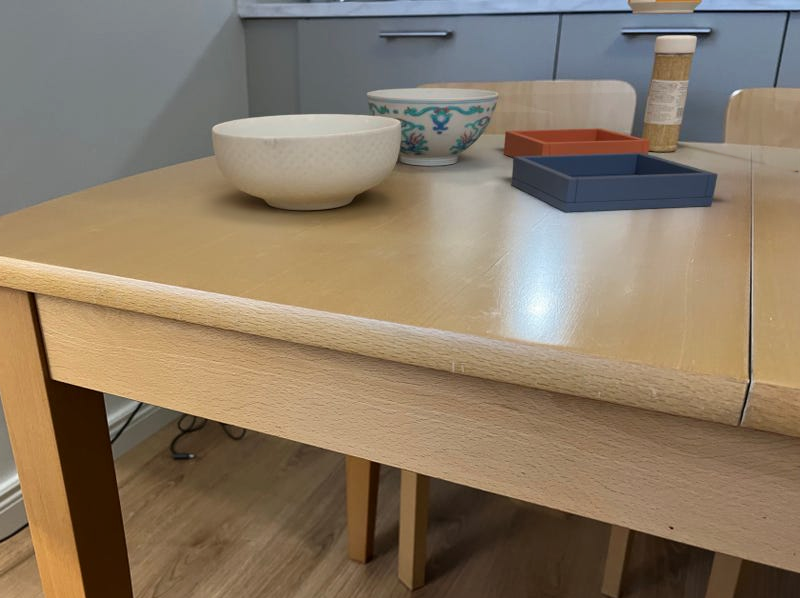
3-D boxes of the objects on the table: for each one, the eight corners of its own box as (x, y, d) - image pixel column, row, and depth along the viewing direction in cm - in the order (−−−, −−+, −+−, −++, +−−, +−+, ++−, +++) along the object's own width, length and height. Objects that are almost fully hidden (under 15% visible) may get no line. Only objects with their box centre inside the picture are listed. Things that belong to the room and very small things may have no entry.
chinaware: (414, 177, 80) (417, 100, 77) (342, 158, 92) (342, 91, 89) (520, 164, 87) (527, 94, 84) (440, 148, 99) (443, 86, 96)
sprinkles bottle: (653, 146, 99) (672, 35, 93) (685, 150, 95) (705, 35, 90) (631, 149, 97) (648, 35, 91) (662, 153, 93) (682, 35, 88)
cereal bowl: (292, 178, 80) (290, 109, 77) (431, 195, 71) (435, 117, 68) (177, 207, 67) (170, 125, 65) (329, 232, 59) (329, 139, 56)
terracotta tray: (598, 150, 96) (601, 128, 95) (646, 165, 85) (650, 140, 84) (503, 154, 94) (505, 130, 93) (540, 169, 84) (543, 143, 83)
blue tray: (637, 180, 77) (641, 152, 76) (711, 206, 66) (718, 173, 65) (510, 184, 76) (513, 156, 75) (564, 212, 64) (569, 179, 63)
